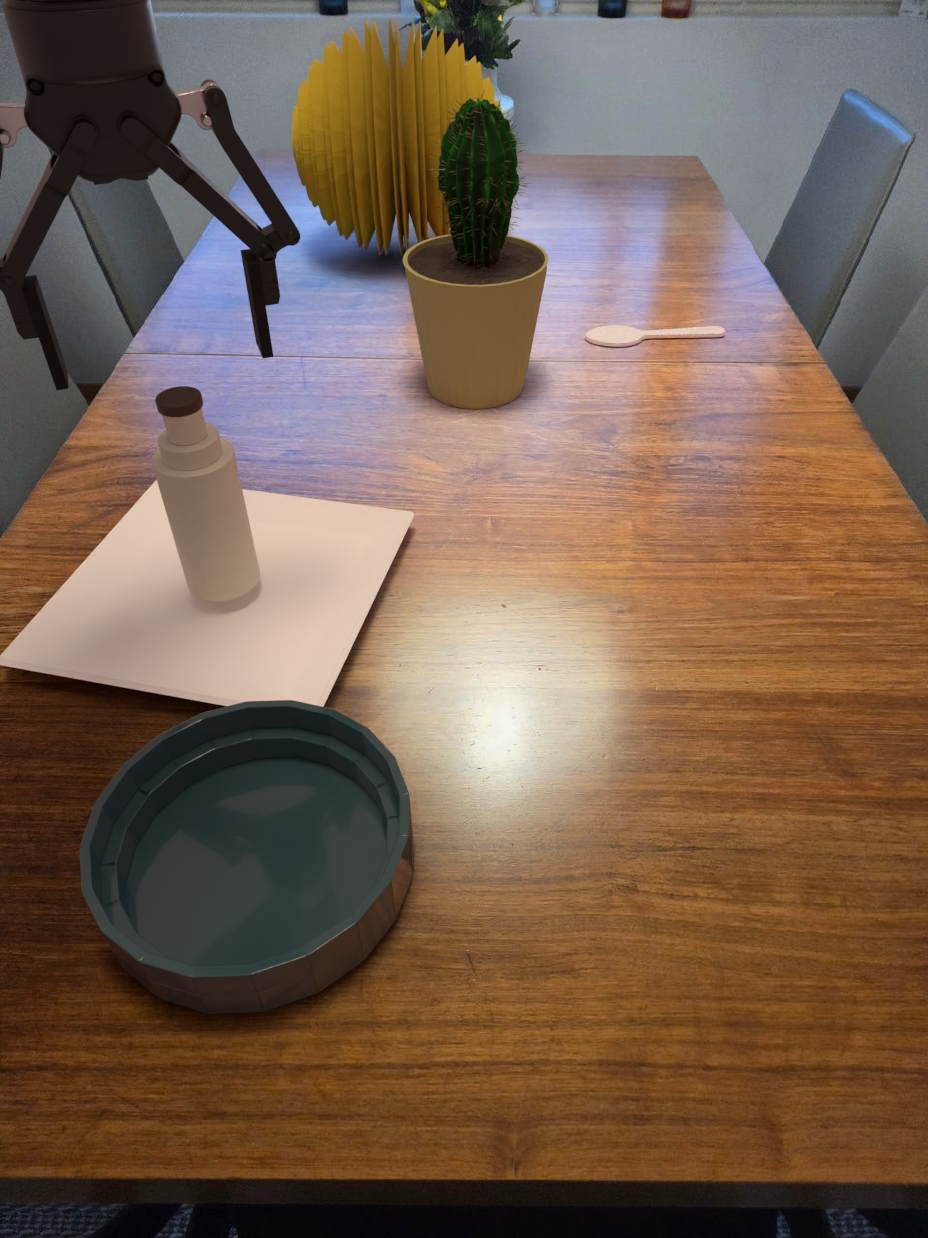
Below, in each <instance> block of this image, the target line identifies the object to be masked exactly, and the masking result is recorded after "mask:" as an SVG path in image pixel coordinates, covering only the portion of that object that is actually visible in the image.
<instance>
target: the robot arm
mask: <svg viewBox="0 0 928 1238" xmlns="http://www.w3.org/2000/svg"><path fill="white" fill-rule="evenodd" d="M1 8H2V12H3V15H4V19H5V22H6V25H7V29H8V32H9V35H10V39H11V42H12V46H13V49H14V53H15V56H16V59H17V63H18V66H19V69H20V73H21V77H22V80H23V83H24V87H25V100H24V103H16V102H15V103H13V102H0V179H1V178H2V171H3V162H4V154H5V153H4V152H5V149H8V148H9V149H10V148H12V147H14V146H15V145H16V143H17V138H18V133H19V132H20V130H21V129H24V128H28V129H29V130H30V132H32V134H33V135H34V136H35V137H36V138H37V139H39V141H40V142H42V143H43V144H44V145H45V146H46V147H47V148H48V149H49V150H50V151H51V152H52V153H51V156H50V158H49V160H48V162H47V164H46V166H45V169H44V171H43V174H42V176H41V178H40V181H39V183H38V184H37V187H36V188H35V191H34V192H33V194H32V197H31V199H30V201H29V203H28V205H27V207H26V209H25V211H24V213H23V215H22V217H21V219H20V221H19V223H18V225H17V227H16V229H15V232H14V233H13V235H12V237H11V240H10V241H9V244H8V246H7V248H6V250H5V251H4V254H3V255H2V258H0V292H2V294H3V295H4V298H5V301H6V303H7V306H8V309H9V312H10V315H11V318H12V320H13V323H14V326H15V329H16V332H17V333H18V335H19V336H20V337H21V338H22V340H30V339H38V340H39V343H40V347H41V350H42V352H43V354H44V359H45V361H46V363H47V368H48V369H49V373H50V376H51V378H52V381H53V385H54V387H55V390H56V391H63V390H68V389H69V388H70V387H69V371H68V368H67V365H66V362H65V361H66V360H65V358H64V356H63V353H62V350H61V346H60V343H59V340H58V337H57V334H56V332H55V328H54V325H53V322H52V319H51V316H50V313H49V310H48V307H47V303H46V301H45V298H44V297H45V296H44V294H43V291H42V289H41V284H40V282H39V279H38V276H37V275H36V274H33V275H27V274H28V271H29V270H30V269H31V266H32V264H33V262H34V260H35V259H36V256H37V254H38V253H39V250H40V248H41V247H42V244H43V242H44V240H45V238H46V236H47V234H48V233H49V230H50V229H51V227H52V224H53V222H54V221H55V218H56V216H57V215H58V212H59V211H60V209H61V206H62V205H63V203H64V201H65V199H66V198H67V196H68V195H69V193H70V192H71V190H72V188H73V186H74V184H75V182H76V180H77V178H78V177H79V178H80V179H82V180H84V181H87V182H92V183H93V185H94V186H96V185H98V186H99V185H107V184H110V183H113V182H115V181H117V180H120V179H122V180H129V181H135V182H138V181H147V180H149V177H150V176H153V175H154V174H155V173H157V171H159V169H160V170H161V171H162V172H163V173H164V174H166V176H168V177H169V178H170V179H171V180H172V181H173V182H175V183H176V184H177V185H178V186H180V187H182V188H183V189H184V190H185V191H186V192H187V193H188V194H189V195H190V196H191V197H193V198H194V199H195V200H196V201H197V202H198V203H199V204H200V205H202V206H203V208H205V209H206V210H207V211H208V212H209V213H210V214H211V215H212V216H213V217H215V219H217V221H219V222H220V223H221V224H222V225H223V226H224V227H226V228H227V230H229V231H230V232H231V233H232V234H233V235H234V236H236V238H238V239H239V240H240V241H241V243H243V244H244V245H245V246H246V247H247V249H240V255H241V262H242V267H243V273H244V279H245V284H246V291H247V292H246V293H247V296H248V303H249V309H250V315H251V320H252V321H251V322H252V327H253V333H254V338H255V343H256V346H257V349H258V350H259V353H260V355H261V358H262V359H268V358H274V350H273V345H272V338H271V332H270V325H269V319H268V311H267V306H273V305H279V304H280V299H281V291H280V284H279V278H278V272H277V271H278V270H277V264H276V260H277V256H278V253H279V251H281V250H282V249H284V248H286V247H288V246H290V247H293V246H296V245H298V243H299V242H300V240H301V233H300V230H299V228H298V226H297V225H296V224H295V222H294V220H293V219H292V218H291V215H290V214H289V213H288V211H287V209H286V208H285V206H284V205H283V203H282V202H281V200H280V198H279V197H278V195H277V193H276V192H275V191H274V189H273V187H272V186H271V184H270V183H269V181H268V180H267V178H266V176H265V175H264V173H263V171H262V170H261V169H260V166H259V165H258V164H257V162H256V160H255V159H254V157H253V156H252V154H251V152H250V151H249V150H248V148H247V146H246V145H245V143H244V141H243V140H242V138H241V137H240V135H239V134H238V132H237V131H236V129H235V126H234V122H233V117H232V114H231V110H230V107H229V103H228V99H227V96H226V94H225V92H224V91H223V90H222V88H221V87H220V85H219V83H217V81H215V80H213V79H205V80H203V81H202V82H201V84H200V86H198V87H193V88H187V89H184V90H179V91H174V90H173V89H172V87H171V86H170V84H169V82H168V79H167V74H166V70H165V67H164V66H165V65H164V62H163V56H162V51H161V46H160V41H159V35H158V30H157V26H156V20H155V15H154V11H153V6H152V1H151V0H4V1H3V2H1ZM182 115H188V116H190V117H192V118H193V119H194V121H195V122H196V124H197V126H198V127H199V128H200V129H201V130H205V131H210V130H211V131H212V132H213V134H214V136H215V137H216V139H217V141H218V143H219V144H220V146H221V148H222V149H223V151H224V152H225V154H226V155H227V157H228V159H229V160H230V162H231V163H232V165H233V167H234V168H235V170H236V171H237V172H238V174H239V176H240V177H241V179H242V180H243V182H244V183H245V185H246V187H247V188H248V189H249V191H250V193H251V194H252V195H253V197H254V198H255V200H256V201H257V203H258V205H259V206H260V208H261V209H262V211H263V212H264V214H265V215H266V217H267V218H268V220H269V222H270V224H268V225H266V226H263V227H261V226H260V225H259V224H258V223H257V222H256V221H255V220H254V219H253V218H251V217H250V216H249V215H248V214H247V213H246V212H245V211H244V210H243V209H242V208H241V207H240V206H239V205H238V204H236V202H234V201H233V200H232V199H231V198H230V197H229V196H228V195H227V194H226V193H225V192H224V191H223V190H221V188H220V187H218V186H217V185H216V184H215V182H213V181H212V180H211V179H210V178H209V177H208V176H207V175H206V174H205V173H203V171H201V169H200V168H198V167H197V166H196V165H195V164H194V162H192V161H191V160H190V159H189V158H188V157H187V156H186V155H185V154H184V152H182V151H181V150H180V149H179V147H177V146H176V145H175V143H173V142H172V140H173V138H174V136H175V133H176V132H177V129H178V127H179V124H180V122H181V119H182Z"/></svg>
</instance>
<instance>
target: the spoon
mask: <svg viewBox="0 0 928 1238" xmlns="http://www.w3.org/2000/svg"><path fill="white" fill-rule="evenodd" d="M725 335H726V329H725V327H723V326H721V325H720V326H719V325H707V326H693V327H692V326H688V327H678V328H666V329H665V328H664V329H663V328H660V329H659V328H657V329H649V330H648V329H646V330H644V329H639V328H637V327H633V326H630V325H624V324H610V325H609V324H608V325H602V326H598V327H593V328H591V329H588V330H587V331H586V332H585V334H584V339H585V340H586V341H587V342H588V343H591V344H593V345H598V346H604V347H616V348H618V347H621V348H622V347H630V346H634V345H637V344H640V343H641V342H642V341H644V340H645V339H687V338H690V339H692V338H694V339H695V338H697V339H698V338H721V337H724V336H725Z"/></svg>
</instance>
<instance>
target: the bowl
mask: <svg viewBox="0 0 928 1238" xmlns="http://www.w3.org/2000/svg"><path fill="white" fill-rule="evenodd" d="M413 833H414V832H413V821H412V809H411V797H410V792H409V789H408V786H407V784H406V781H405V779H404V776H403V774H402V771H401V769H400V766H399V763H398V761H397V758H396V756H395V755H394V754H393V753H392V752H391V751H390V750H389V749H388V748H387V746H385V744H384V743H383V742H382V741H381V740H380V739H379V738H378V736H376V734H375V733H374V732H373V731H372V730H371V729H370V728H369V727H368V726H365V725H363V724H362V723H360V722H358V721H356V720H355V719H352V718H351V717H348V716H347V715H345V714H343V713H342V712H339V711H338V710H336V709H334V708H331V707H326V706H323V707H322V706H317V705H312V704H308V703H303V702H299V701H294V700H275V701H246V702H242V703H238V704H234V705H230V706H223V707H220V708H215V709H211V710H208V711H204V712H203V711H202V712H201V713H199V714H197V715H195V716H193V717H191V718H189V719H187V720H185V721H183V722H181V723H179V724H177V725H175V726H173V727H171V728H169V729H167V730H166V731H163V732H161V733H159V734H158V735H156V736H155V737H154V738H152V740H150V741H149V742H148V743H147V744H146V745H144V746H143V747H142V748H141V749H139V750H138V751H137V752H135V754H133V755H132V756H131V757H130V758H129V759H127V760H126V761H125V762H124V763H122V765H121V766H120V768H119V769H118V770H117V771H116V773H115V774H114V775H113V777H112V778H111V780H110V781H109V783H108V784H107V785H106V786H105V788H104V789H103V790H102V792H101V793H100V795H99V797H98V798H97V799H96V800H95V802H94V803H93V806H92V809H91V812H90V814H89V818H88V821H87V824H86V827H85V830H84V832H83V835H82V839H81V842H80V844H79V869H80V870H79V871H80V892H81V894H82V897H83V899H84V901H85V902H86V904H87V907H88V908H89V911H90V912H91V914H92V916H93V918H94V920H95V922H96V924H97V926H98V928H99V930H100V933H101V934H102V935H103V938H104V939H105V941H106V942H107V945H108V946H109V947H110V949H111V951H112V953H113V955H114V957H115V958H116V960H117V961H118V964H119V965H120V967H121V968H122V969H123V970H124V971H125V972H126V973H127V974H128V975H129V976H131V977H132V978H133V979H134V980H136V981H137V982H138V983H139V984H140V985H142V986H143V987H144V988H146V989H147V990H148V991H149V992H151V994H153V995H154V996H155V997H156V998H158V999H160V1000H162V1001H166V1002H169V1003H172V1004H176V1005H178V1006H181V1007H185V1008H187V1009H192V1010H195V1011H198V1012H202V1013H205V1014H209V1015H210V1014H213V1015H214V1014H215V1015H216V1014H237V1013H238V1014H240V1013H243V1014H244V1013H263V1012H267V1011H270V1010H273V1009H276V1008H279V1007H282V1006H284V1005H287V1004H290V1003H293V1002H296V1001H299V1000H302V999H305V998H308V997H311V996H314V995H316V994H319V993H320V992H323V990H324V989H326V988H328V987H329V986H331V985H332V984H333V983H335V982H336V981H337V980H339V979H340V978H342V977H343V976H344V975H346V974H347V973H349V972H351V970H353V969H354V968H356V967H357V966H359V965H360V964H362V963H363V962H364V961H365V959H366V958H367V957H368V956H369V954H371V952H372V951H373V949H374V948H375V947H376V946H377V945H378V943H379V942H380V941H381V939H382V938H383V937H384V936H385V935H386V933H387V932H388V931H389V929H390V928H391V927H392V926H393V924H394V923H395V922H396V920H397V918H398V916H399V913H400V910H401V908H402V905H403V902H404V900H405V897H406V894H407V892H408V889H409V887H410V883H411V881H412V878H413V860H414V859H413V856H414V855H413V854H414V853H413V851H414V849H413V848H414V834H413Z"/></svg>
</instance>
